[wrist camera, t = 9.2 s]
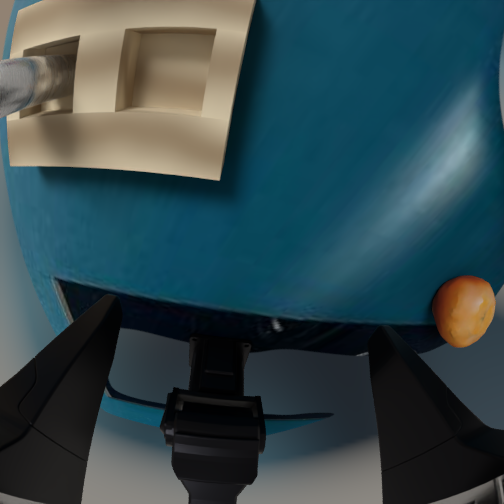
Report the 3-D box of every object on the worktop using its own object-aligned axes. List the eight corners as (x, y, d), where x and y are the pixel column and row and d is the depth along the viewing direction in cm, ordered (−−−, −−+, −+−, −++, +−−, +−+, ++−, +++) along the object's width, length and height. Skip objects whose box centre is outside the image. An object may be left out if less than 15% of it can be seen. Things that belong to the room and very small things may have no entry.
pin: (83, 95, 14) (1, 121, 7) (49, 98, 13) (-31, 128, 7) (87, 51, 12) (4, 55, 5) (52, 58, 11) (-30, 71, 5)
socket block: (223, 164, 18) (219, 180, 15) (33, 152, 16) (10, 166, 13) (257, -6, 11) (260, -22, 8) (42, 12, 9) (18, 10, 6)
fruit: (411, 335, 28) (452, 361, 20) (421, 269, 27) (468, 281, 19) (455, 328, 28) (494, 348, 20) (465, 269, 27) (508, 279, 19)
